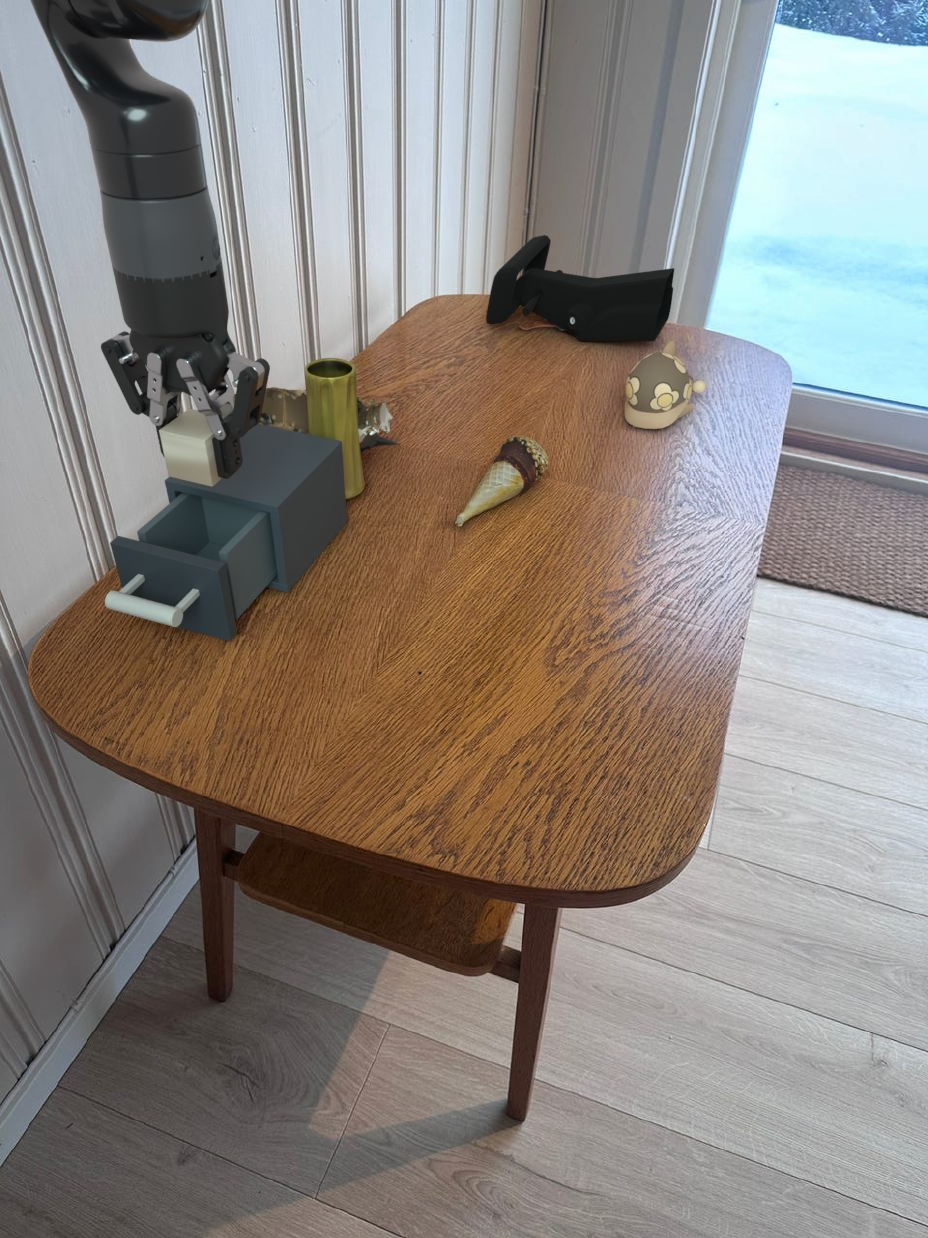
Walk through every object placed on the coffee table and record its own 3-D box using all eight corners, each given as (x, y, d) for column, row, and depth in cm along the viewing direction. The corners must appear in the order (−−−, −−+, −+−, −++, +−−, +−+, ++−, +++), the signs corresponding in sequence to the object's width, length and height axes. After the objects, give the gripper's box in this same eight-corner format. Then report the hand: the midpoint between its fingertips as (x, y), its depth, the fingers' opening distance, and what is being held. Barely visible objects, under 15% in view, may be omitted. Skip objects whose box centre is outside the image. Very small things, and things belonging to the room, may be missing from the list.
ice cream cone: (432, 492, 94) (512, 418, 101) (438, 532, 98) (515, 458, 105) (479, 512, 91) (558, 434, 98) (483, 552, 95) (559, 475, 103)
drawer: (203, 674, 75) (187, 601, 70) (97, 643, 77) (75, 570, 72) (295, 567, 87) (288, 498, 82) (201, 543, 89) (189, 475, 84)
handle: (665, 351, 126) (648, 245, 118) (495, 371, 140) (469, 277, 131) (691, 305, 138) (678, 205, 129) (532, 327, 151) (510, 238, 143)
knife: (602, 331, 140) (597, 323, 142) (603, 328, 139) (597, 319, 142) (521, 332, 138) (517, 323, 140) (521, 328, 137) (517, 320, 139)
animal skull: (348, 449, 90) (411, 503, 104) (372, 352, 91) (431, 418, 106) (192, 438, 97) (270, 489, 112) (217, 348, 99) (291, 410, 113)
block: (212, 487, 71) (204, 440, 69) (168, 476, 72) (158, 430, 70) (239, 463, 74) (233, 417, 72) (197, 453, 76) (189, 408, 73)
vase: (357, 504, 97) (351, 382, 88) (303, 498, 98) (292, 377, 89) (370, 476, 102) (365, 358, 93) (318, 471, 103) (309, 353, 93)
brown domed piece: (637, 413, 127) (606, 425, 114) (648, 333, 123) (617, 336, 110) (708, 422, 123) (684, 435, 110) (721, 340, 119) (698, 344, 106)
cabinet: (287, 593, 85) (277, 506, 79) (182, 565, 88) (164, 480, 82) (347, 522, 95) (342, 440, 89) (250, 500, 98) (238, 419, 91)
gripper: (47, 256, 61) (103, 471, 72) (225, 287, 58) (256, 508, 69) (115, 227, 67) (157, 432, 78) (282, 254, 63) (302, 464, 74)
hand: (203, 467), depth 73 cm, fingers closed on block, 4 cm apart
